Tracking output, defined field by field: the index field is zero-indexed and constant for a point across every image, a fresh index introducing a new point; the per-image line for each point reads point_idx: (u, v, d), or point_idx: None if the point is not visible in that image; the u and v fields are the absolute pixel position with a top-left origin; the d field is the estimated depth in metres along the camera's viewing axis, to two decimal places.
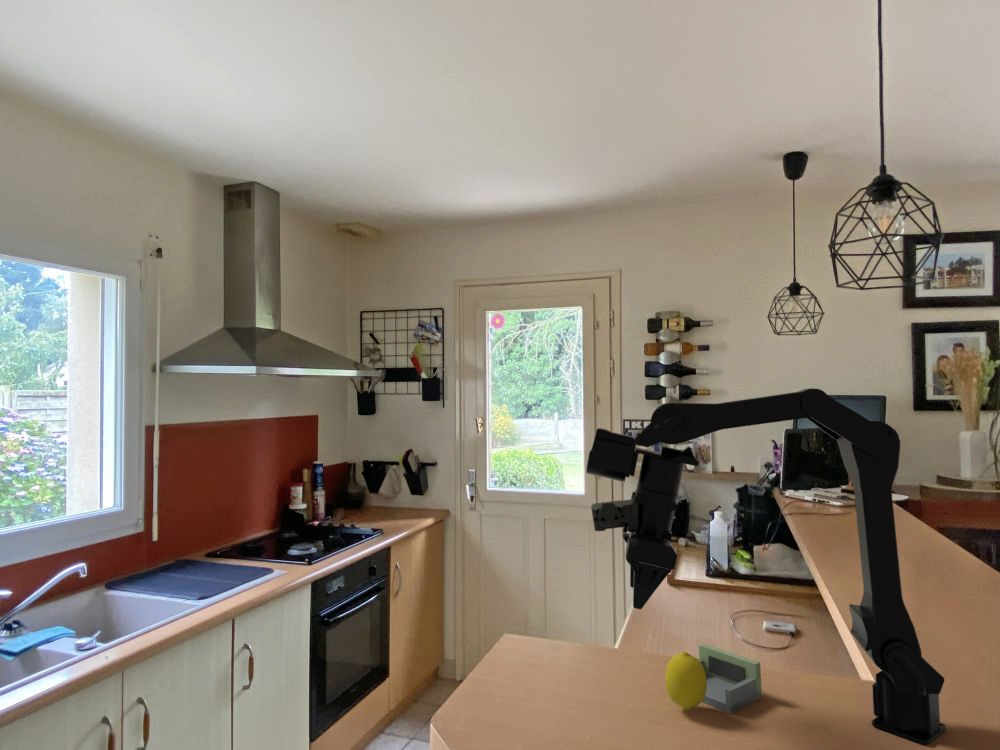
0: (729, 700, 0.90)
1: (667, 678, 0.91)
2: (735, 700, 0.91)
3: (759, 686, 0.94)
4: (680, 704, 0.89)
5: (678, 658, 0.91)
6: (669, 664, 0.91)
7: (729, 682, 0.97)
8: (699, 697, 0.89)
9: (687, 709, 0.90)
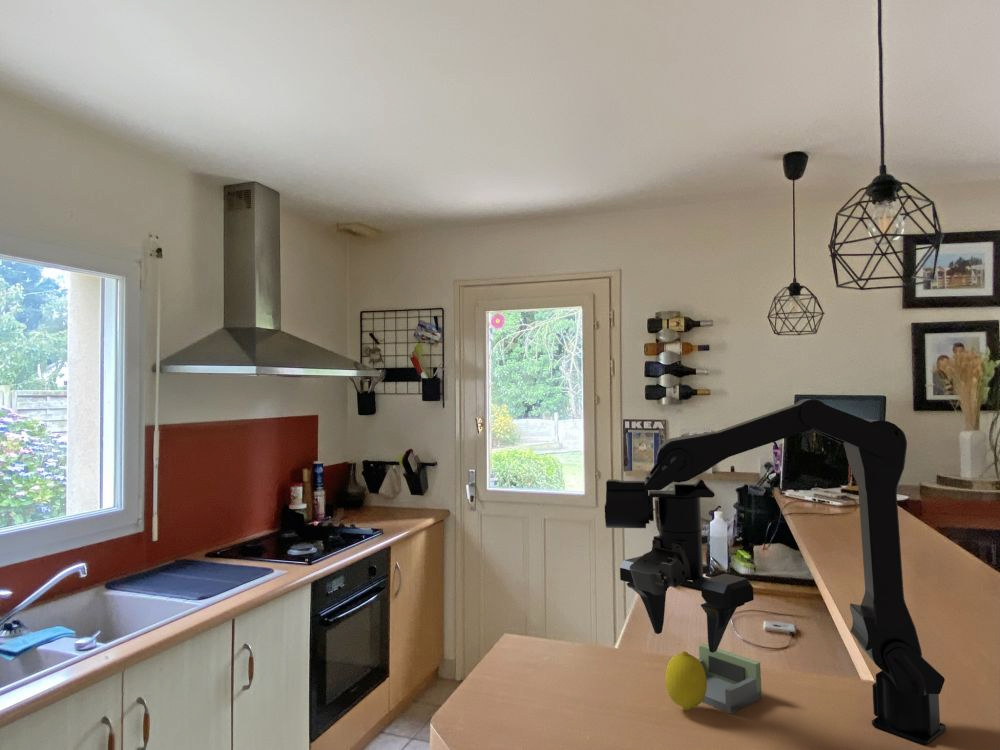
0: (729, 700, 0.90)
1: (667, 678, 0.91)
2: (735, 700, 0.91)
3: (759, 686, 0.94)
4: (680, 704, 0.89)
5: (678, 658, 0.91)
6: (669, 664, 0.91)
7: (729, 682, 0.97)
8: (699, 697, 0.89)
9: (687, 709, 0.90)
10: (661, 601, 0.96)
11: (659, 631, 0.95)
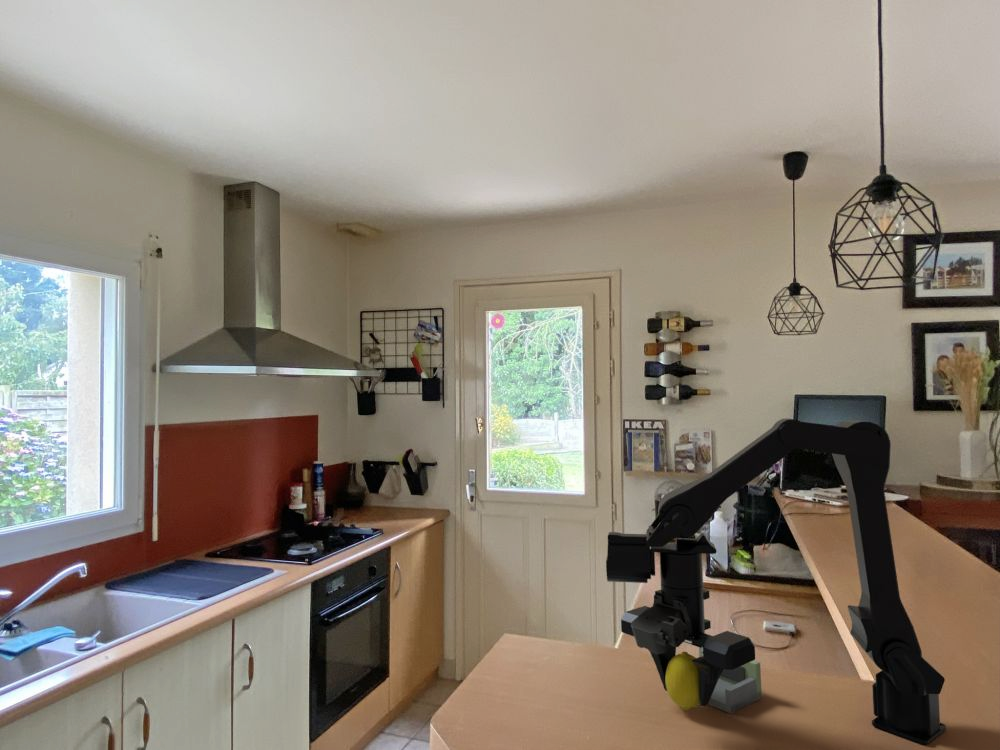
0: (729, 700, 0.90)
1: (667, 678, 0.91)
2: (735, 700, 0.91)
3: (759, 686, 0.94)
4: (680, 704, 0.89)
5: (679, 658, 0.91)
6: (669, 664, 0.91)
7: (729, 682, 0.97)
8: None
9: (687, 709, 0.90)
10: (671, 657, 0.94)
11: None
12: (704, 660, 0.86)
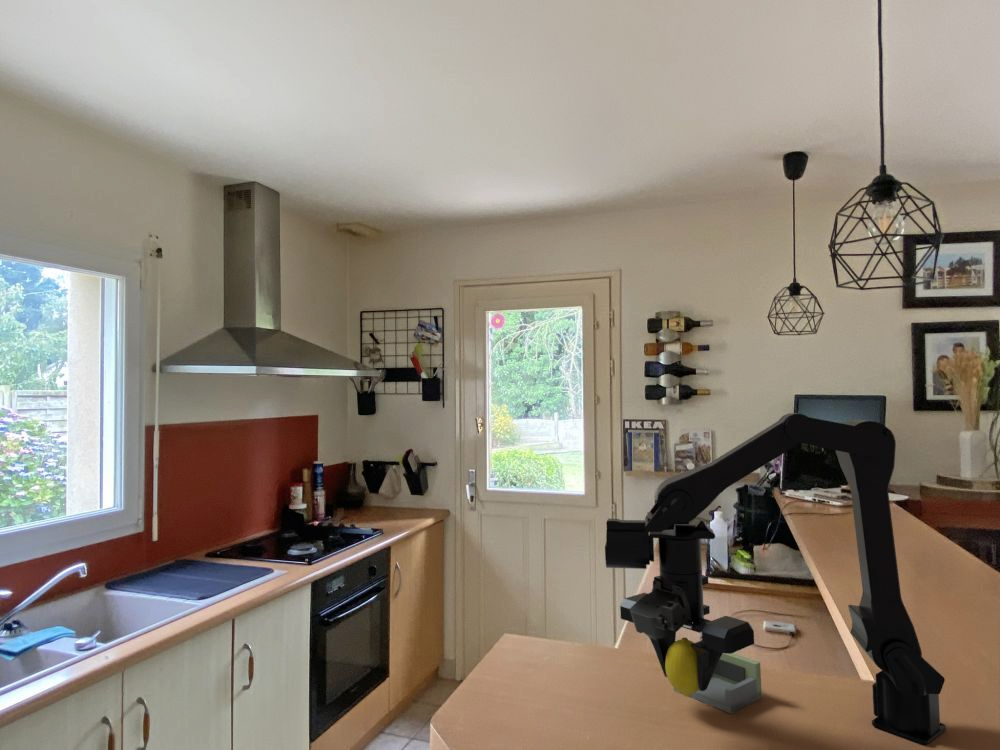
0: (729, 700, 0.90)
1: (667, 664, 0.91)
2: (735, 700, 0.91)
3: (759, 686, 0.94)
4: (680, 690, 0.90)
5: (678, 644, 0.91)
6: (669, 650, 0.91)
7: (729, 682, 0.97)
8: None
9: (687, 695, 0.90)
10: (671, 644, 0.94)
11: None
12: (703, 644, 0.86)
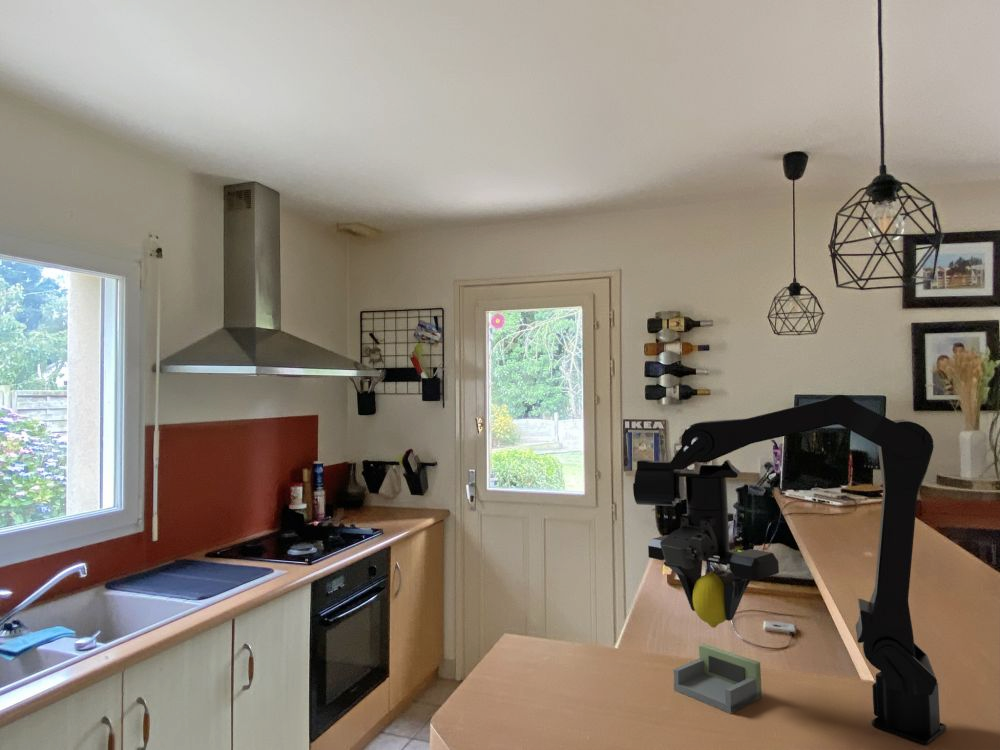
0: (729, 700, 0.90)
1: (694, 596, 0.95)
2: (735, 700, 0.91)
3: (759, 686, 0.94)
4: (707, 620, 0.94)
5: (705, 577, 0.96)
6: (696, 584, 0.96)
7: (729, 682, 0.97)
8: None
9: (714, 626, 0.95)
10: None
11: None
12: (730, 575, 0.91)
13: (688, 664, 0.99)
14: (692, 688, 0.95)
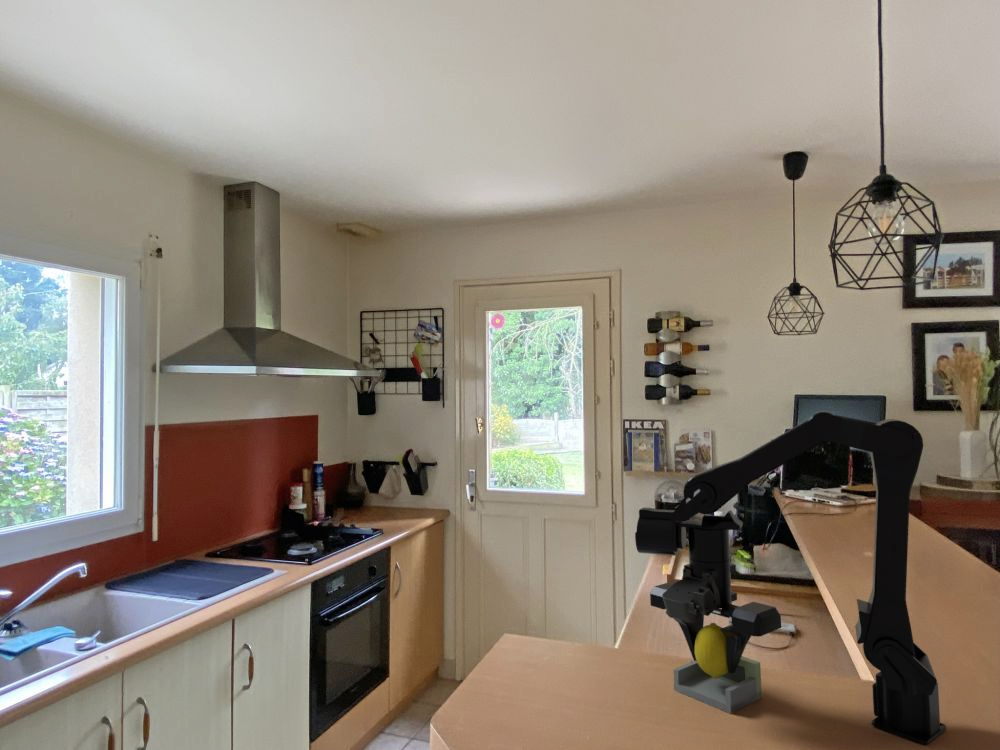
0: (729, 700, 0.90)
1: (696, 648, 0.95)
2: (735, 700, 0.91)
3: (759, 686, 0.94)
4: (709, 672, 0.94)
5: (707, 629, 0.95)
6: (698, 635, 0.96)
7: (729, 682, 0.97)
8: None
9: (716, 677, 0.95)
10: (699, 629, 0.99)
11: None
12: (732, 629, 0.91)
13: (688, 664, 0.99)
14: (692, 688, 0.95)
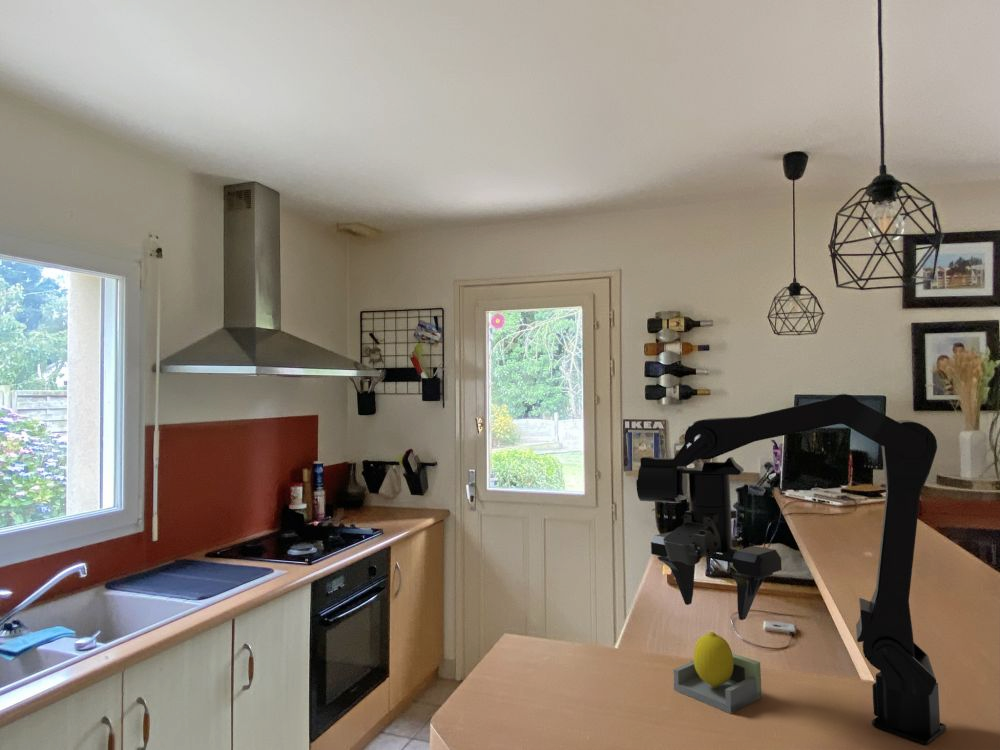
0: (729, 700, 0.90)
1: (696, 658, 0.95)
2: (735, 700, 0.91)
3: (759, 686, 0.94)
4: (709, 682, 0.94)
5: (706, 638, 0.95)
6: (697, 644, 0.96)
7: (729, 682, 0.97)
8: (727, 674, 0.93)
9: (715, 686, 0.95)
10: (691, 574, 1.01)
11: (689, 602, 1.00)
12: (743, 574, 0.90)
13: (688, 664, 0.99)
14: (692, 688, 0.95)
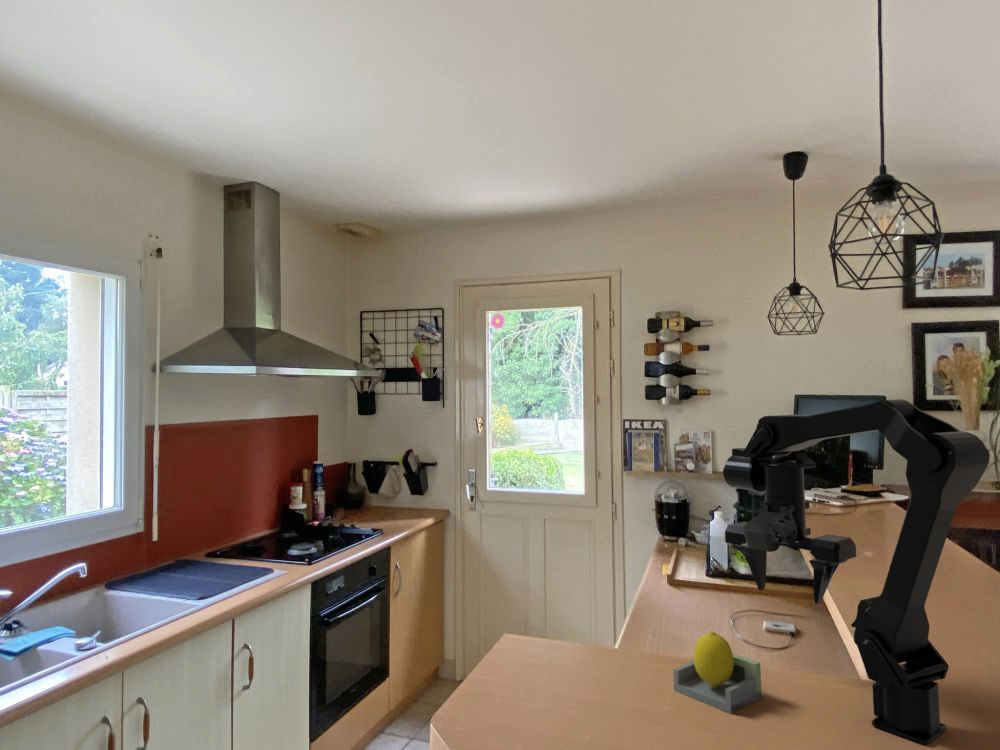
0: (729, 700, 0.90)
1: (696, 657, 0.95)
2: (735, 700, 0.91)
3: (759, 686, 0.94)
4: (709, 681, 0.94)
5: (707, 637, 0.95)
6: (697, 643, 0.96)
7: (729, 682, 0.97)
8: (727, 674, 0.93)
9: (715, 686, 0.95)
10: (763, 562, 1.07)
11: (762, 588, 1.06)
12: (820, 560, 0.96)
13: (688, 664, 0.99)
14: (692, 688, 0.95)
